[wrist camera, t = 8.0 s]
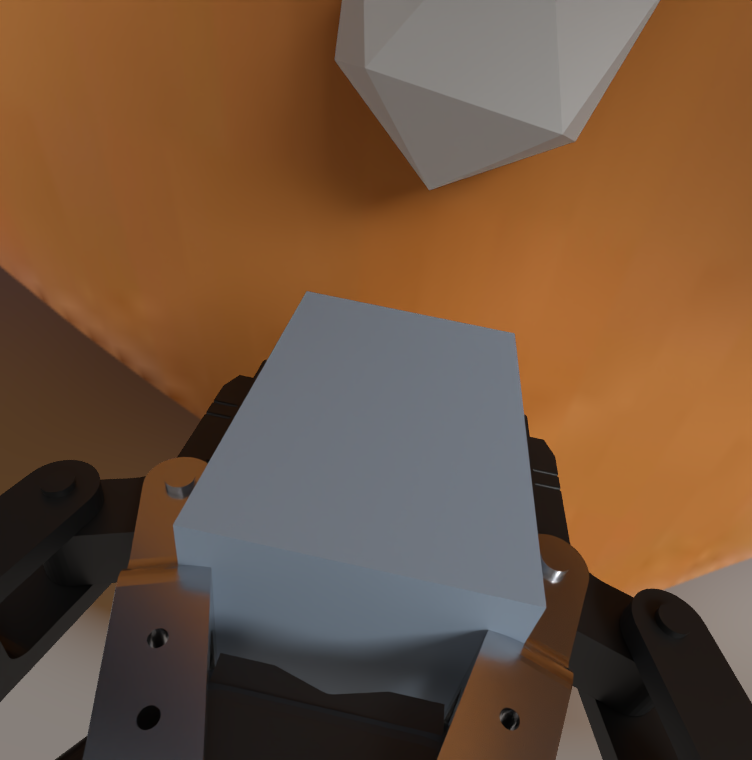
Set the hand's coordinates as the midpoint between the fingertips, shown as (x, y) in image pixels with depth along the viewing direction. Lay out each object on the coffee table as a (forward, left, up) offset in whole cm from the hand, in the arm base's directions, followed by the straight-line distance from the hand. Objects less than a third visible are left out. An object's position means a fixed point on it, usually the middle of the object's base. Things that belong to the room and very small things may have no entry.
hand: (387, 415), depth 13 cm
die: (-3, 0, -8) cm, 9 cm away
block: (0, 0, -1) cm, 1 cm away
